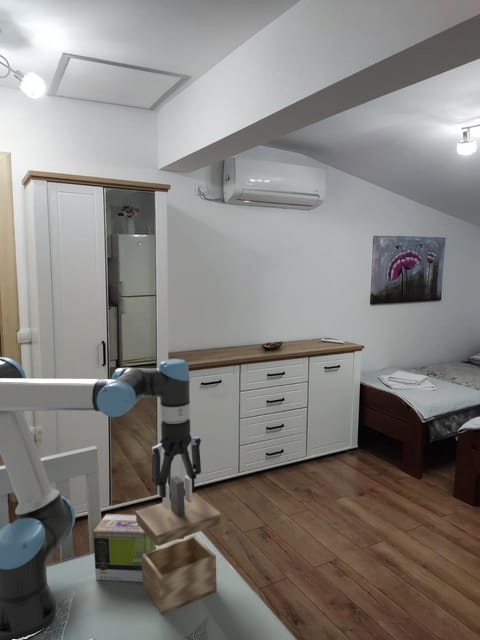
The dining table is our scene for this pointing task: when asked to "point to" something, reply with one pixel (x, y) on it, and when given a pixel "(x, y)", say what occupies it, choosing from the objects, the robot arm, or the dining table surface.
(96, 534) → the tea box
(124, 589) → the dining table surface
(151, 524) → the lid
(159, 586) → the wooden box
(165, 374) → the robot arm
